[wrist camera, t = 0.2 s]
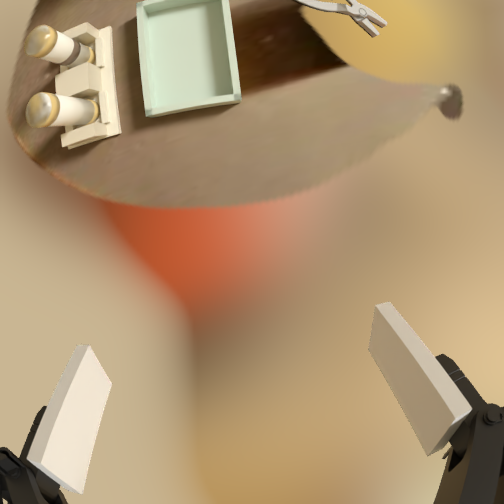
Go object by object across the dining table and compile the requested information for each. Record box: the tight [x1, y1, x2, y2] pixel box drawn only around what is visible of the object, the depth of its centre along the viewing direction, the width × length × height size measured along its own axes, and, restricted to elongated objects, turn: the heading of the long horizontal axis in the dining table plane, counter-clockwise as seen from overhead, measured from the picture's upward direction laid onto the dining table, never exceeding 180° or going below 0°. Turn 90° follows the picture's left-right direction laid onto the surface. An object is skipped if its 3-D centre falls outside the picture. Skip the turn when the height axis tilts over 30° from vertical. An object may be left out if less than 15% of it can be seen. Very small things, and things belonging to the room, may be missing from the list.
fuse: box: [26, 92, 100, 128], centre depth 24 cm, size 4×4×12 cm
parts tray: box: [136, 0, 242, 118], centre depth 27 cm, size 16×11×4 cm
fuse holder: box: [55, 22, 121, 149], centre depth 26 cm, size 16×8×5 cm, turn 7°
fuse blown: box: [24, 25, 96, 68], centre depth 21 cm, size 4×4×12 cm
